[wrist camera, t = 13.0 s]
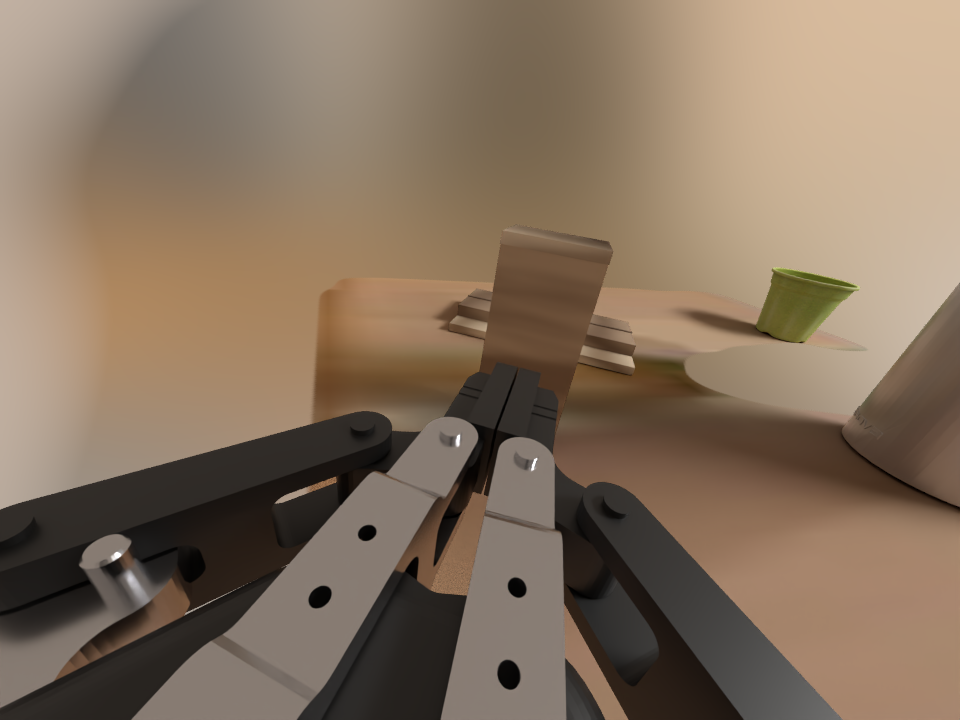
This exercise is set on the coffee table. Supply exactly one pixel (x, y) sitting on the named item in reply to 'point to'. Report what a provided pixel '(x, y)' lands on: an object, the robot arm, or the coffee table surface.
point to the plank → (544, 303)
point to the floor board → (601, 348)
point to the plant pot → (800, 303)
